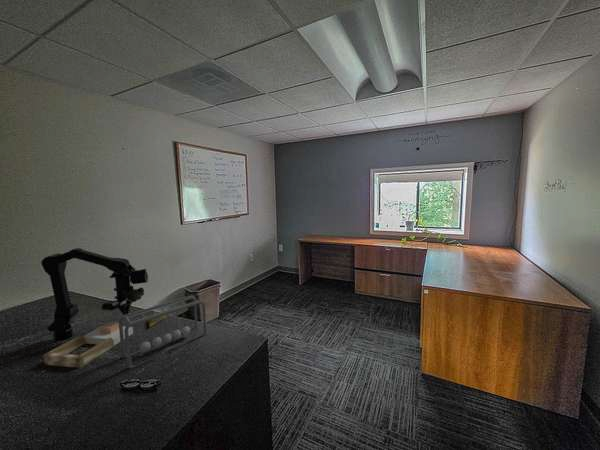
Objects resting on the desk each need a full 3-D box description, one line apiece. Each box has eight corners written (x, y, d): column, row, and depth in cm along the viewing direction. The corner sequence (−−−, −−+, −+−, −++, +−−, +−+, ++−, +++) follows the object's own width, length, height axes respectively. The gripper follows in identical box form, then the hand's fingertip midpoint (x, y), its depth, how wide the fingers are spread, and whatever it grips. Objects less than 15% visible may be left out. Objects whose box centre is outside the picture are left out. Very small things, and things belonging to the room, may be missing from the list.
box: (44, 364, 93) (43, 354, 93) (81, 343, 106) (80, 335, 106) (80, 368, 91) (79, 358, 90) (113, 346, 104) (112, 337, 104)
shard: (149, 328, 118) (149, 324, 118) (136, 326, 120) (136, 322, 120) (167, 318, 128) (166, 314, 128) (155, 316, 130) (155, 313, 130)
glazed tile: (100, 332, 109) (99, 327, 109) (111, 326, 115) (110, 321, 115) (110, 333, 109) (110, 328, 108) (121, 327, 114) (120, 322, 114)
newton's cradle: (128, 372, 88) (124, 325, 86) (121, 359, 95) (117, 316, 94) (207, 337, 110) (205, 299, 108) (197, 329, 117) (194, 293, 115)
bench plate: (82, 343, 107) (81, 336, 107) (103, 331, 117) (103, 325, 116) (114, 345, 104) (113, 339, 104) (133, 333, 114) (132, 327, 114)
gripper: (120, 293, 108) (124, 326, 109) (152, 279, 126) (154, 308, 128) (99, 292, 109) (102, 324, 111) (133, 278, 128) (135, 307, 129)
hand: (125, 315), depth 120 cm, fingers closed
